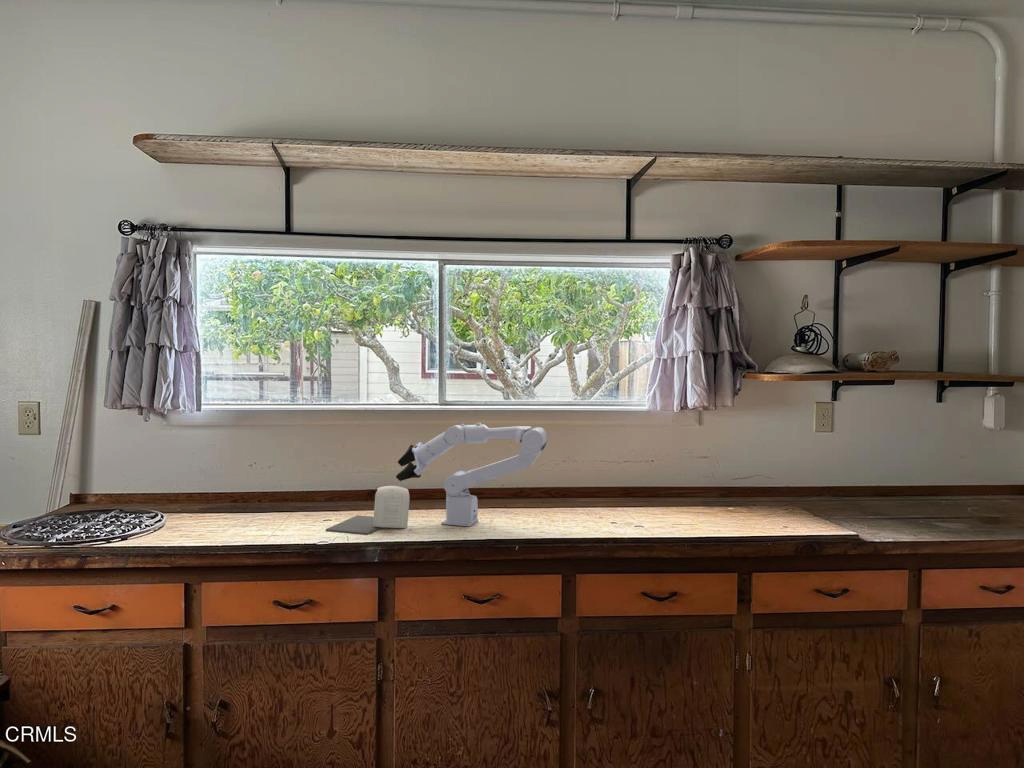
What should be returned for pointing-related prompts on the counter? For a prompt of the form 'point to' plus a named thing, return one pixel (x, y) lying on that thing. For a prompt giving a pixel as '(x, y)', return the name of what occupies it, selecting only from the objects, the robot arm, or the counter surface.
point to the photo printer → (391, 507)
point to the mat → (355, 525)
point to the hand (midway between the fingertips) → (398, 471)
